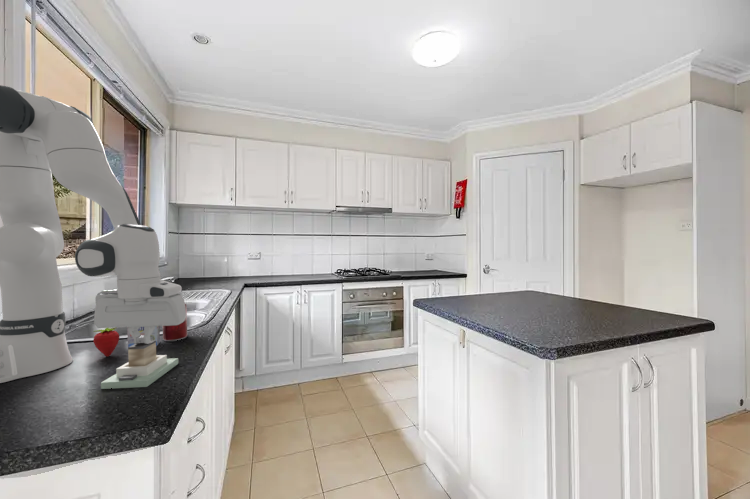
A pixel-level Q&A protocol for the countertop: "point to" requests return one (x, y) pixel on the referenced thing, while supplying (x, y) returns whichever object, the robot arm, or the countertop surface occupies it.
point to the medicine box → (153, 336)
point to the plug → (142, 354)
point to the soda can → (175, 331)
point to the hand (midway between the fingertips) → (142, 343)
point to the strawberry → (106, 340)
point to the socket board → (139, 373)
